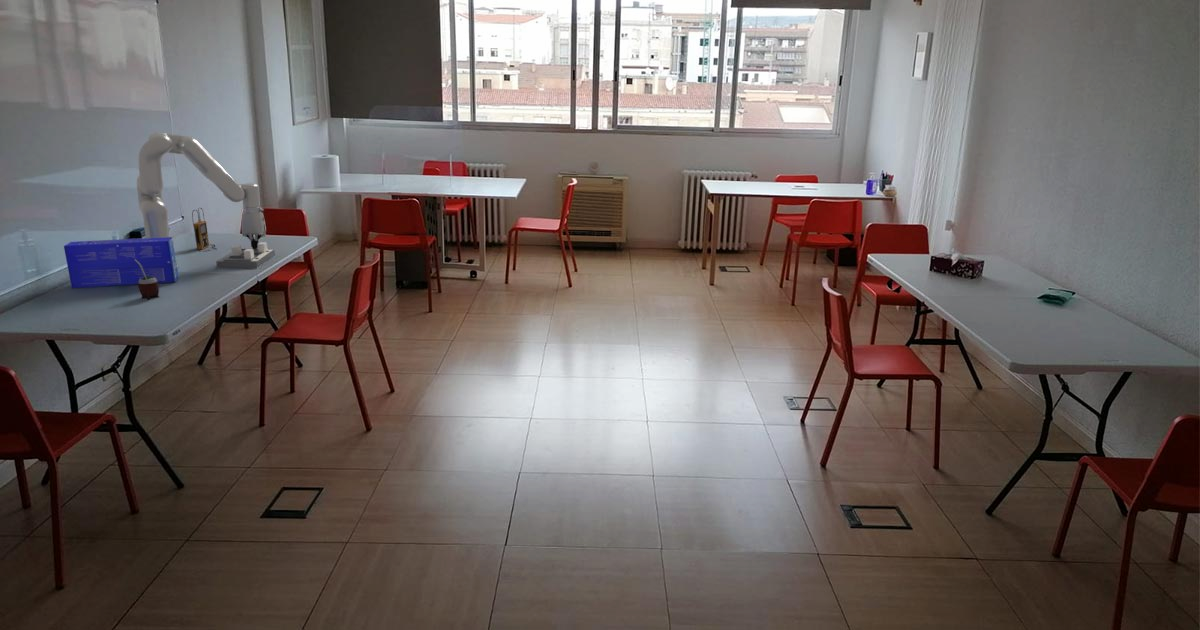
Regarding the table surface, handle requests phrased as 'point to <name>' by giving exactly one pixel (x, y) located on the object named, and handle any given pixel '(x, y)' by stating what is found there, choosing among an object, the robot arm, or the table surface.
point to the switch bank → (240, 262)
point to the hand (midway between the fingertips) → (255, 248)
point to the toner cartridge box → (120, 261)
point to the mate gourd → (148, 286)
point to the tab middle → (236, 250)
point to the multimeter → (201, 233)
